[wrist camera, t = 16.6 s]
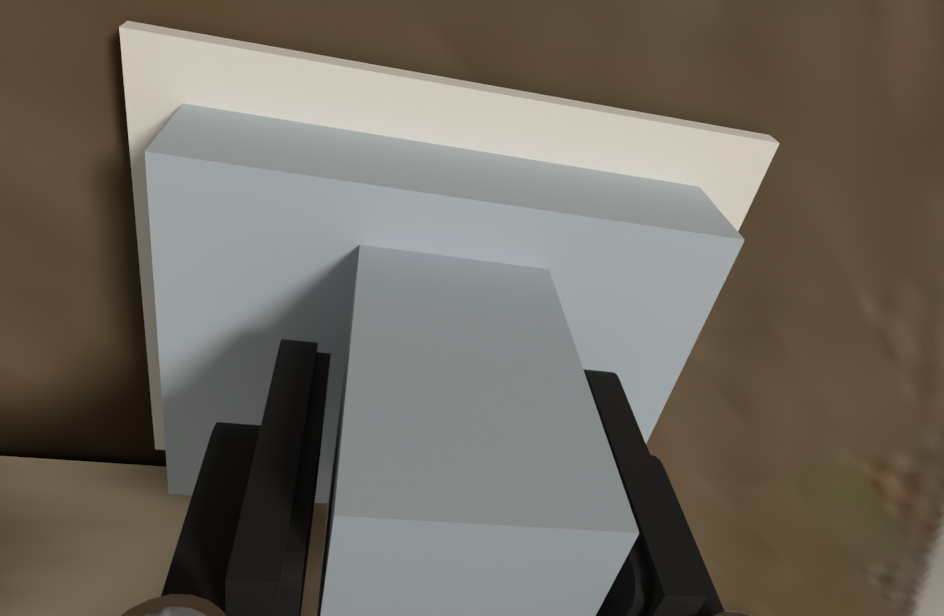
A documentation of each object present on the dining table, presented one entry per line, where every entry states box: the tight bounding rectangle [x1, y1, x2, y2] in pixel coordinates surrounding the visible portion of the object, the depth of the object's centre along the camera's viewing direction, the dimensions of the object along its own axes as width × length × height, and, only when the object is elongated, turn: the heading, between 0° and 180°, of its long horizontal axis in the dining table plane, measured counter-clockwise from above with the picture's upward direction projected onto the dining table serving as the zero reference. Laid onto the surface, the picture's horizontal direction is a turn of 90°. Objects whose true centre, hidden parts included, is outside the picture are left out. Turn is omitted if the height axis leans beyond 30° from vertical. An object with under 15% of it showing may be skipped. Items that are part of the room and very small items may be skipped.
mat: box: [119, 21, 779, 450], centre depth 14 cm, size 11×9×1 cm
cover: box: [145, 103, 744, 616], centre depth 11 cm, size 9×7×7 cm
